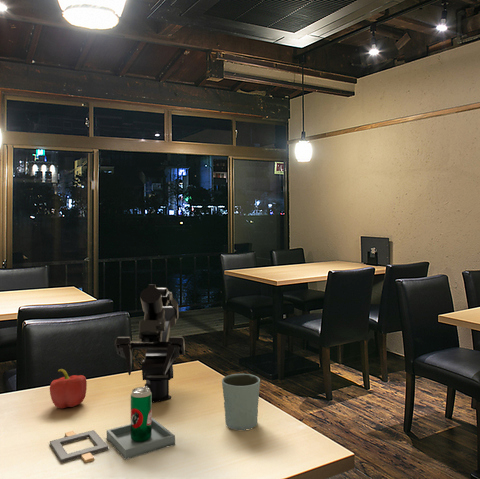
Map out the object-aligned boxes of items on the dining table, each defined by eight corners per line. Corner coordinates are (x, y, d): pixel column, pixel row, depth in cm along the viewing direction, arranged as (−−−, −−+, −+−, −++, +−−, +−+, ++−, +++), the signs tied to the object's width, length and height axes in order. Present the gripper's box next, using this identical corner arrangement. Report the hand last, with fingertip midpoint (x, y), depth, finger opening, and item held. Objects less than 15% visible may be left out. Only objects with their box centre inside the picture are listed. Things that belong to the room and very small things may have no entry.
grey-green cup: (265, 420, 122) (265, 376, 122) (250, 435, 113) (250, 388, 113) (232, 413, 126) (232, 371, 126) (215, 427, 117) (215, 382, 117)
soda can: (152, 442, 108) (152, 392, 108) (130, 444, 107) (130, 394, 106) (151, 432, 113) (151, 385, 113) (130, 434, 112) (130, 387, 111)
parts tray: (152, 426, 118) (152, 418, 118) (174, 444, 108) (174, 435, 108) (106, 439, 111) (106, 430, 111) (125, 459, 101) (125, 450, 101)
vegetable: (42, 405, 132) (41, 371, 132) (74, 396, 140) (74, 364, 140) (60, 415, 125) (60, 380, 125) (93, 405, 133) (93, 371, 132)
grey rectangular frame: (90, 428, 116) (90, 425, 116) (112, 454, 103) (112, 451, 103) (46, 439, 110) (46, 436, 110) (65, 468, 97) (64, 465, 97)
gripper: (115, 307, 123) (105, 359, 112) (184, 307, 124) (180, 358, 113) (122, 330, 131) (113, 380, 120) (186, 329, 132) (182, 379, 121)
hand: (146, 374), depth 118 cm, fingers open, 9 cm apart
